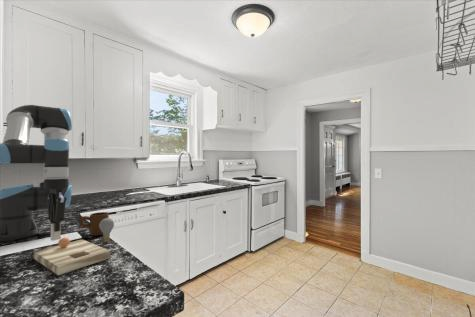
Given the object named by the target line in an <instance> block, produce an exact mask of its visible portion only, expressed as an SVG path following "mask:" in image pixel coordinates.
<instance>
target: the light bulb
mask: <svg viewBox="0 0 475 317" xmlns="http://www.w3.org/2000/svg"><path fill="white" fill-rule="evenodd" d="M114 227H115V222H114V220H113V219H112V218H105V219H103V220H102V221H101V222H100V224H99V228H100V230H101V231H102V233H103V235H102V236H103V242H104V243H108V242H110V236H111V235H110V234H111V232H112V230H113V229H114Z"/></svg>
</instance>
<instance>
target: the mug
mask: <svg viewBox="0 0 475 317" xmlns="http://www.w3.org/2000/svg"><path fill="white" fill-rule="evenodd" d="M105 218H109V212H106V211H103V212H101V211H99V212H94V213H90V215H89V216H87V215H84V216H80V218H79V219H78V225H79V226H80V227H82V228H88V229H89V234H90V236H91V237H96V236H98V235H99V236H104V235H103V233H102V231H101V230H100V228H99V224H100V222H101V221H102V220H103V219H105ZM83 220H85V221H89V222H88V223H86V222H85V223H84V222H83Z"/></svg>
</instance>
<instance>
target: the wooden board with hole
mask: <svg viewBox="0 0 475 317" xmlns="http://www.w3.org/2000/svg"><path fill="white" fill-rule="evenodd" d="M33 259H34V260H35V261H37V262H38V263H39V264H40V265H43V266H44V267H45V268H46V269H48V270H49V271H51V272H53V274H55V275H57V276H60V275H64V274H67V273H70V272H73V271H76V270H78V269H81V268H84V267H87V266H90V265H93V264H96V263H100V262H102V261H105V260H108V259H111V250H110V249H108V248H104V247H103V246H100V245H97V244H95V243H92V242H89V241H87V240H85V239H78V240H75V241H70V243H69V245H68V246H66V247H60V246H59V245H58V244H57V245H55V246H49V247H45V248H43V249H39V250H35V251H33Z"/></svg>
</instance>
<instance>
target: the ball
mask: <svg viewBox="0 0 475 317" xmlns="http://www.w3.org/2000/svg"><path fill="white" fill-rule="evenodd" d="M70 242H71V240H70V238H69V237H65V236H64V237H62V238H61V239H58V243H57V246H58V245H59V246H60V247H66V246H68V245H69V243H70Z"/></svg>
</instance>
